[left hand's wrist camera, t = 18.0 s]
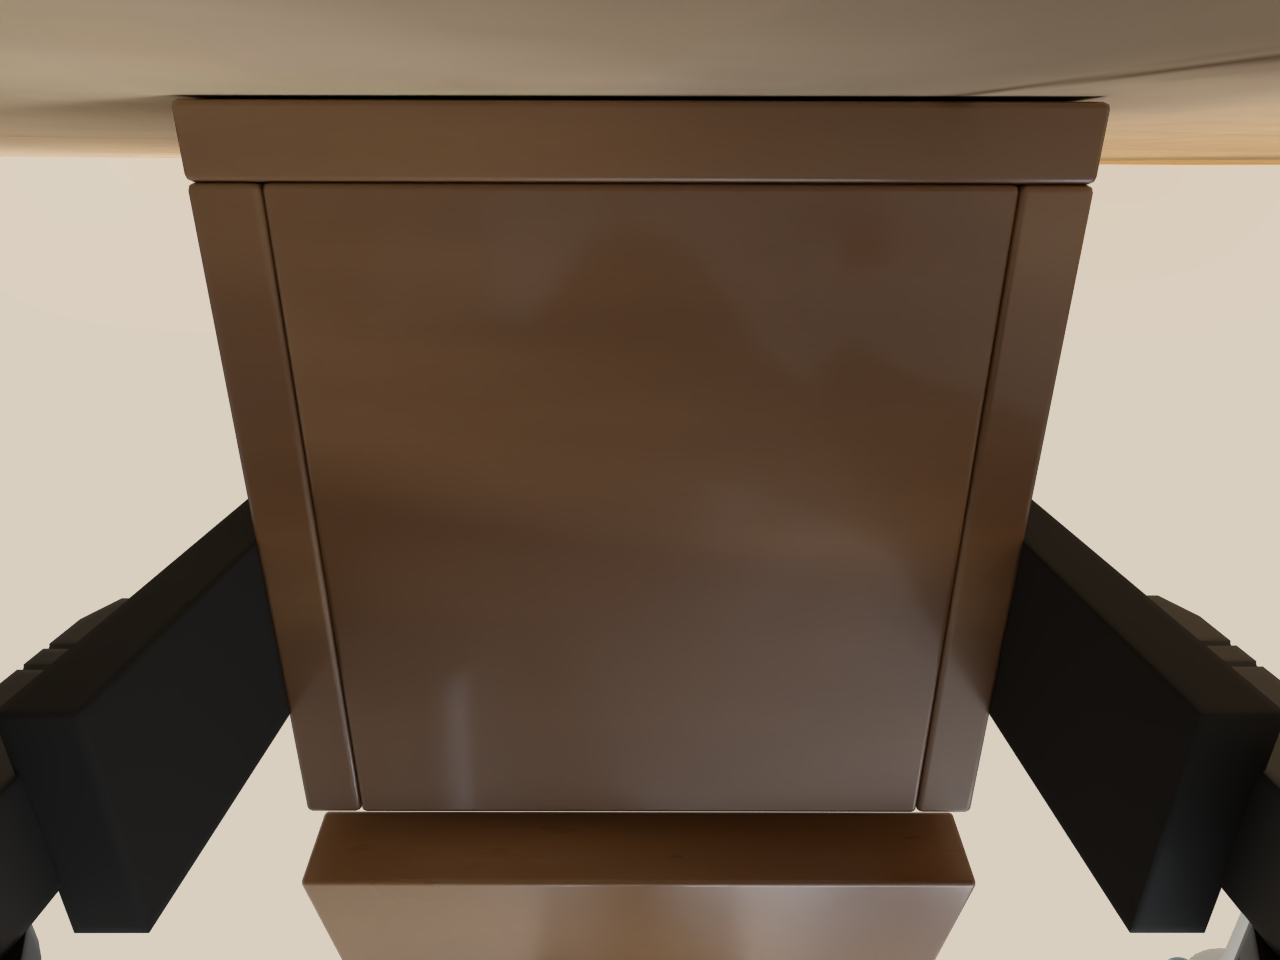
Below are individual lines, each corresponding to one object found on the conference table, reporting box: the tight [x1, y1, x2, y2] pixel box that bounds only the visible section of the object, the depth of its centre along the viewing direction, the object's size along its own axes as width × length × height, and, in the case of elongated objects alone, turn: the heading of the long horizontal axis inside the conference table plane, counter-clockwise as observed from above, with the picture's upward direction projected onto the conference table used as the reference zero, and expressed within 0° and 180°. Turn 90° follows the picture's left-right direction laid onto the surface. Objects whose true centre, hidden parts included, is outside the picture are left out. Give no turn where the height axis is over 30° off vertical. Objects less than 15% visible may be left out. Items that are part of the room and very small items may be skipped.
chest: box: [172, 99, 1110, 812], centre depth 17 cm, size 16×10×10 cm, turn 0°
